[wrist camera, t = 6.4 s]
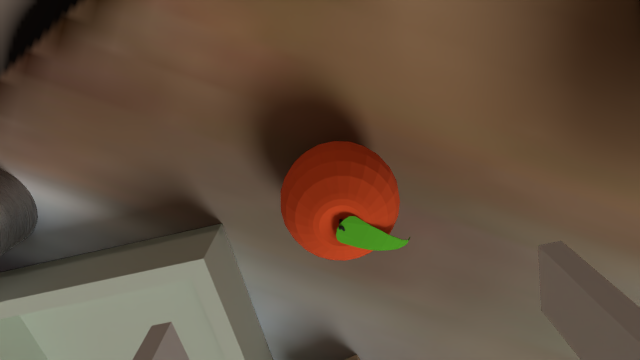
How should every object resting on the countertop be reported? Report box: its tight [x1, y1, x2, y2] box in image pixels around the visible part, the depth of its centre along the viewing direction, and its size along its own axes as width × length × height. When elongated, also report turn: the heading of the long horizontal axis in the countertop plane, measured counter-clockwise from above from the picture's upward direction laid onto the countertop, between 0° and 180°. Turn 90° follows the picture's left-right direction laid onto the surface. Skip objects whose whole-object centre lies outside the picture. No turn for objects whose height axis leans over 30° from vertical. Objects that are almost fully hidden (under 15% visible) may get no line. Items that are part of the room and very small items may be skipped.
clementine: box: [281, 141, 410, 260], centre depth 22 cm, size 8×7×7 cm
